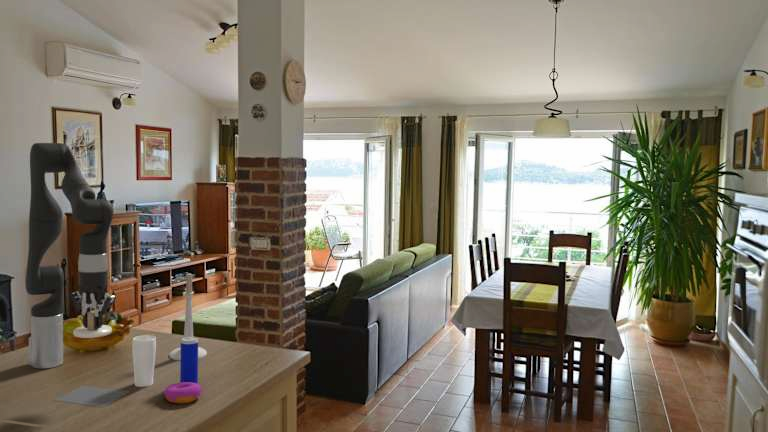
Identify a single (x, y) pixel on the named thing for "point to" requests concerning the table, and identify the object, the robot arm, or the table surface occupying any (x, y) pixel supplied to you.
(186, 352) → the beverage can
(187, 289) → the candlestick
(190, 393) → the donut
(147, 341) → the drinking glass
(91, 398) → the mat
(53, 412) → the table surface
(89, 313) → the lid
